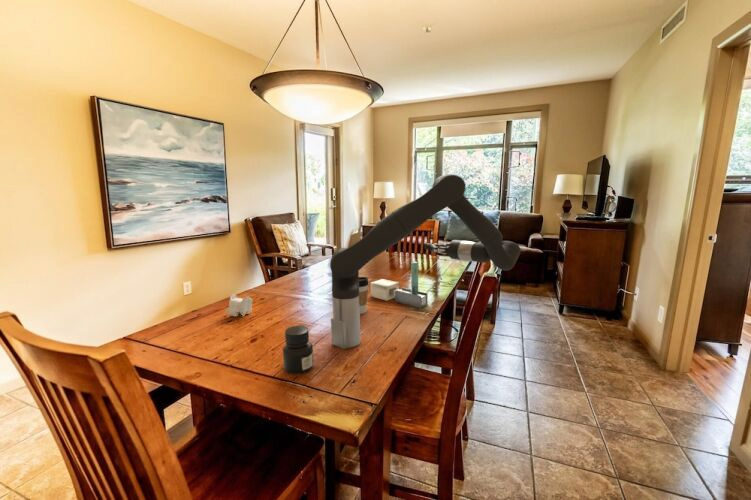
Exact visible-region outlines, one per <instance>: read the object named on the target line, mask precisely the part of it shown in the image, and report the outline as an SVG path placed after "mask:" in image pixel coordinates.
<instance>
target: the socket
mask: <svg viewBox="0 0 751 500" xmlns="http://www.w3.org/2000/svg"><path fill="white" fill-rule="evenodd" d="M399 286H400V285H399V281H393V280H389V279H384V278H380V279H378V280H375V281H372V282H370V297H372V298H376V299H379V300H383V301H389V300H392V299H395V298H394V290H397V289H399Z"/></svg>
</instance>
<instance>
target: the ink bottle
mask: <svg viewBox="0 0 751 500" xmlns="http://www.w3.org/2000/svg"><path fill="white" fill-rule="evenodd" d="M284 337H285V339H284V340H285V345H284V346H283V348H282V357H283V358H282V359H283V369H284V372H286V373H287V372H288V374H290V373H292V375H299V373H301V374H304V372H305V373H307V371H308V372H309V371H310V369H311V370H312V369H313V367H314V366H315V363H314V361H315V360H314V346H313V343H312V342H310V339H309V338H310V337H309V327H307V326H305V325H294V326H290V327H287V328H286V329H285V332H284Z"/></svg>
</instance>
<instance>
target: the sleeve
mask: <svg viewBox="0 0 751 500" xmlns="http://www.w3.org/2000/svg"><path fill="white" fill-rule="evenodd" d="M401 290H405V291H409V292H411V288H409V287H408V288H407V287H401ZM418 294H422V295H426V303H425V304H423V305H421V296H420V295H416V294H412V293H407V292H403V291H399V290H395V298H394V300H395V302H396V303H400V304H403V305H406V306H409V307H410V306H411V307H414V308H417V309H422V308H424V307H426V306H427V305H428V292H425V291H420V290H418Z"/></svg>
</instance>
